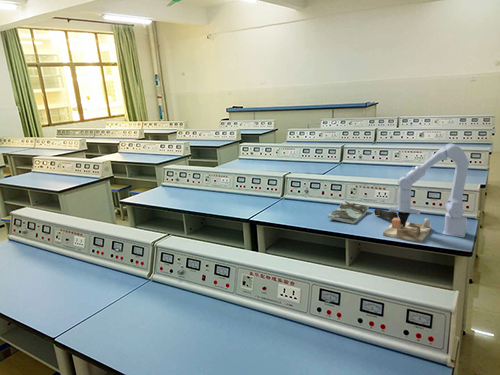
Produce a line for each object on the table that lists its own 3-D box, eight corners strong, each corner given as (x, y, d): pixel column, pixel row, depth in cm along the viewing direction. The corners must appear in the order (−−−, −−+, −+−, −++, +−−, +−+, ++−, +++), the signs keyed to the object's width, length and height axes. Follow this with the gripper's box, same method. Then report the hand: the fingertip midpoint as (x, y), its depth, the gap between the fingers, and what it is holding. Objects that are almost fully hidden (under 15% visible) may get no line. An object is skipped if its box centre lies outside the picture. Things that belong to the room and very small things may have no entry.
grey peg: (430, 226, 188) (430, 218, 187) (429, 227, 185) (429, 220, 184) (424, 225, 189) (424, 217, 188) (423, 227, 187) (423, 219, 186)
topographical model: (353, 225, 203) (353, 216, 202) (327, 221, 212) (327, 213, 211) (368, 211, 223) (368, 203, 222) (344, 208, 232) (344, 201, 231)
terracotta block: (402, 225, 191) (402, 218, 190) (399, 228, 188) (399, 221, 187) (394, 224, 193) (394, 217, 192) (391, 227, 190) (391, 220, 189)
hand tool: (374, 215, 214) (373, 208, 213) (380, 214, 215) (379, 206, 214) (393, 222, 196) (392, 214, 195) (400, 221, 196) (399, 212, 196)
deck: (431, 229, 189) (431, 219, 188) (421, 242, 174) (422, 232, 173) (394, 223, 200) (394, 215, 199) (383, 236, 184) (383, 227, 183)
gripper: (421, 200, 183) (420, 225, 187) (391, 197, 192) (391, 221, 195) (418, 203, 178) (417, 230, 181) (387, 200, 186) (387, 225, 190)
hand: (403, 226), depth 188 cm, fingers closed
